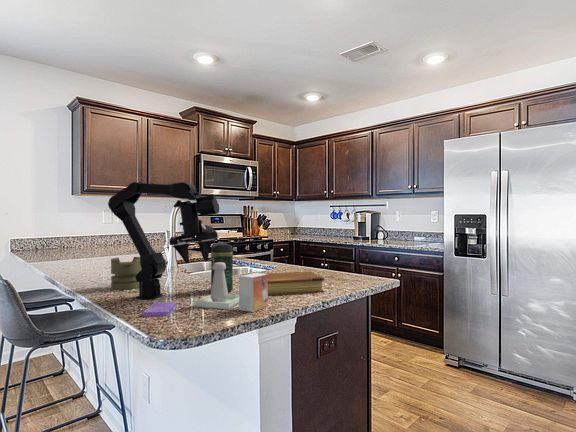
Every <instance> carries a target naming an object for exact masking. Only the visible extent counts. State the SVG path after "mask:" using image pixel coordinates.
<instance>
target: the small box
mask: <svg viewBox="0 0 576 432" xmlns="http://www.w3.org/2000/svg"><path fill="white" fill-rule="evenodd" d="M238 295H239V304H238V308H239V311H243V312H251V313H255V312H257V311H260V310H262V309H266V307H267V308H268V307H269V295H268V274H263V273H257V272H253V273H249V274H245V275H239V276H238Z"/></svg>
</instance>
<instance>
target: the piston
mask: <svg viewBox="0 0 576 432" xmlns="http://www.w3.org/2000/svg"><path fill="white" fill-rule="evenodd" d="M141 270H142V268H141V265H140V256H133V259H132V261H121V260H120V257H114V258H111V259H110V274H111V275H112V276H111V277H110V281H111V283H110V289H112V290H111V291H113V290H129V291H133V290H132V289H135V290H139V282H137V280H136V277H135V276H136V275H137V274H138V273H139V272H140V271H141Z"/></svg>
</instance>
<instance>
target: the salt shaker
mask: <svg viewBox="0 0 576 432" xmlns="http://www.w3.org/2000/svg"><path fill="white" fill-rule="evenodd" d="M225 269H226V264H225V263H223V262H217V263H214V264H213V270H215V271H214V277H213V283H212V289H211V288H210V294H209V295H210V296H211V299H212V301H213V302H226V300H227V298H228V294H229V291H228V290H227V285H226V279H225V273H224V270H225Z"/></svg>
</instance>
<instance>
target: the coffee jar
mask: <svg viewBox="0 0 576 432" xmlns="http://www.w3.org/2000/svg"><path fill="white" fill-rule="evenodd" d="M233 252H234V251H233V246H232V245H231V244H229V243H225V242H215V243H214V244H211V247H210V257H211V258H210V259H211V260H210V266H211V267H210V272H211V275H210V278H211V280H210V290H211V289H212V283H213V277H214V271H215V270H213V264H214V263H217V262H223V263H225V264H226V269H225V270H224V273H225V279H226V285H227V290H228V292H232V291H233V289H234V287H233V286H234V284H233V283H234V280H233V278H234V277H233V276H234V275H233V271H234V269H233V267H234V265H233V263H234V262H233V260H234V257H233V255H234V254H233Z"/></svg>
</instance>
